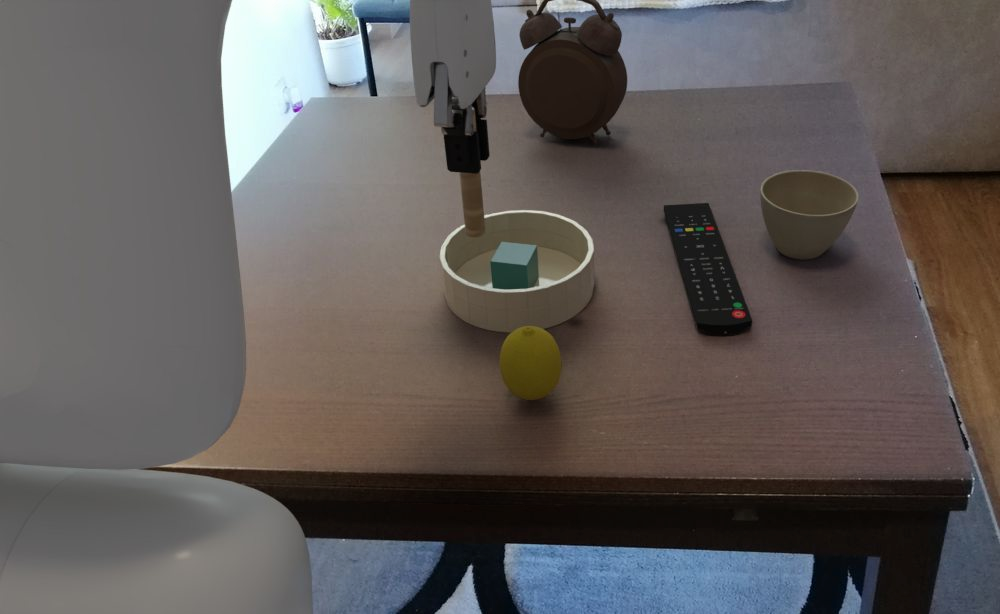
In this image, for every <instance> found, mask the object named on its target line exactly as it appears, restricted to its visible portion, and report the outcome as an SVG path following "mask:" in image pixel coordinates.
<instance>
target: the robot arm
mask: <svg viewBox="0 0 1000 614" xmlns="http://www.w3.org/2000/svg"><path fill="white" fill-rule="evenodd" d="M232 2H233V0H0V614H314V605H313V600H314V599H313V574H312V573H313V572H312V566H311V556H310V551H309V547H308V543H307V539H306V536H305V533H304V531H303V529H302V527H301V525H300V523H299V521H298V519H297V518H296V517H295V515H294V514H293V513H292V512H291V511H290V509H288V508H287V507H286V506H285V505H284V504H283V503H281V502H280V501H278V500H277V499H275V498H274V497H273V496H270V495H268V494H267V493H265V492H263V491H260V490H258V489H255V488H253V487H250V486H247V485H244V484H241V483H238V482H234V481H231V480H227V479H226V480H225V479H222V478H216V477H212V476H207V475H199V474H193V473H192V474H191V473H185V472H175V471H174V472H173V471H164V470H151V469H153V468H156V467H163V466H168V465H174V464H176V463H181V462H183V461H187V460H189V459H192V458H193V457H195V456H197V455H199V454H201V453H203V452H205V451H207V450H208V449H210V448H211V447H213V446H214V445H215V444H216V443H217V442H218V441H219V440H220V438H222V436H223V435H225V434H226V432H227V431H228V430H229V429H230V427H232V424H233V423H234V421H235V418H236V416H237V415H238V412H239V409H240V406H241V402H242V399H243V394H244V390H245V385H246V377H247V376H246V375H247V338H246V337H247V336H246V322H245V321H246V320H245V309H244V299H243V289H242V280H241V271H240V270H241V269H240V260H239V252H238V251H239V250H238V240H237V231H236V223H235V222H236V221H235V212H234V203H233V195H232V186H231V185H232V183H231V176H230V166H229V156H228V148H227V139H226V126H225V112H224V110H225V109H224V97H223V95H224V94H223V81H222V79H223V78H222V75H223V74H222V55H223V45H224V39H225V38H224V37H225V31H226V25H227V21H228V17H229V13H230V10H231V7H232ZM493 13H494V12H493V5H492V0H409V37H410V53H411V65H412V66H411V68H412V77H413V89H414V98H415V102H416V104H417V106H418V107H420V108H426V107H427V106H428V105H430V104H431V102H432V101H433V126H434V127H435V128H440V129H441V134H442V135H443V143H444V151H445V159H446V160H445V161H446V169H447V170H448V171H449V172H450V173H459V172H460V173H475V174H477V173H479V172H480V173H481V170H482V162H485V161H487V160H489V158H490V156H491V155H490V154H491V153H490V144H489V129H488V120H487V119H486V118H487V114H488V109H487V95H486V94H487V93H486V89H487V85H488V84H489V83H490V82H491V80H492V78H493V77H494V75H495V72H496V69H497V47H496V46H497V45H496V33H495V23H494V14H493ZM472 107H473V108H474V109H475V118H476V129H477V132H474V122H473V111H472ZM453 110H463V117H462V115H461V114H460V113H453Z"/></svg>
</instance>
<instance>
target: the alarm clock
mask: <svg viewBox="0 0 1000 614" xmlns="http://www.w3.org/2000/svg"><path fill="white" fill-rule="evenodd" d="M577 1H578V2H583V3H585V4H588V5H591V6H592V7H593V9H594V10H595V11H596V13H597V14H592V15H590V16H588V17H587V18H585V20H584V21H583V22H582V23H581V25H580V26H572V24H576V22H577V18H575V17H568V16H566V17H564V18H563V23H565V24H567V25H568V27H564V28H563V25H562V24H561V22H560V21H559V20H558V18H556V16H554V15H553V14H551V13H549V12H543V11H544V10H545V8H546V7H547V5H548V3H549V2H554V0H542V2H541V3H540V6H539V7H538V9H537V11H536V13H535V14H534V12H533V10H531V9H527V10H526V14H525V15H526V17H527V18H526V19H525V20H524V23H523V24H522V25H521V27H520V29H519V40H520V43H521V47H522V48H523V50H524V51H525V50H528V49H530V48H532V47H533V48H532V49H531V50H530V51H529V53H527V55H526V57H524V59H523V61H522V64H521V66H520V68H519V73H518V80H517V81H518V82H517V83H518V84H517V85H518V86H517V87H518V93H519V97H520V101H521V104H522V106H523V108H524V110H525V111H526V113H527V114H528V116H529V117H530V119H531V120H532V121H533V122H534V123H535V125H537V126H538V127H539V128H541V129H542V132H541V133H540V135H539V136H540V138H545V134H546V133H549V134H551V135H552V136H555V137H557V138H561V139H567V140H578V139H583V138H588V137H590V139H591V140H592V144H593V145H596V146H597V145H598V142H599V141H598V140H597V139H596V135H595V134H596V133H598V131H600V130H601V129H603V131H605V135H606V136H610V135H612V133H611V130H609V128H608V123H610V121H611V120H613V118H614V117H615V115H616V114H617V112H618V110H619V109H620V107H621V105H622V103H623V101H624V99H625V97H626V93H627V89H628V72H627V67H626V64H625V61H624V59H623V57H622V55H621V52H620V51H619V49H620V47H621V43H622V37H623V33H622V30H621V27H620V26H619V24H618V23H617V21H615V20H614V17H615V15H614V13H613V12H608V14H607V15H606V13H605V11H604V9H603V7H602V6H601V4H600V2H599V1H598V0H577Z"/></svg>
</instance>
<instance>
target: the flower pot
mask: <svg viewBox="0 0 1000 614" xmlns="http://www.w3.org/2000/svg"><path fill="white" fill-rule="evenodd" d="M759 189H760V190H759V197H760V208H761V213H762V217H763V222H764V225H765V228H766V231H767V234H768V235H769V238H770V240H771V241H772V243H773V245H774V246H775V248H776V250H777V251H778V252H779V253H780V254H781V255H783V256H785V257H787V258H791V259H795V260H802V261H803V260H804V261H805V260H813V259H815V258H818V257H820V256H821V255H822V254H824V253H825V252H826V251H827V250H828V249H829V248H830V247H831V246H832V245H833V244H834V243H835V242H836V241H837V240H838V238H839V237H840V236H841V235H842V233H843V232H844V230H845V228H847V226H848V224H849V222H850V221H851V218H852V217H853V215H854V212H855V210H856V207H857V205H858V202H859V198H860V196H859V195H860V194H859V192H858V190H857V189H856V187H855V186H854V185H853V184H852V183H850V182H849V181H848V180H846V179H844V178H842V177H840V176H837V175H835V174H831V173H828V172H824V171H817V170H811V169H791V170H786V171H785V170H784V171H780V172H777V173H774V174H771V175H770V176H768V177H767V178H765V180H764V181H762V183H761V184H760V188H759Z"/></svg>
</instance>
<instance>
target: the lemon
mask: <svg viewBox="0 0 1000 614" xmlns="http://www.w3.org/2000/svg"><path fill="white" fill-rule="evenodd" d="M498 366H499V371H500V376H501V379H502V382H503V384H504V385H505V387H506V388H507V390H508V391H510V393H511V394H512V395H514V396H515V397H518V398H519V399H523V400H526V401H536V400H537V401H538V400H540V399H543V398H544V397H546V396H548V395H549V394H550V393H552V392H553V391H554V390H555V388H556V387H557V385H558V384H559V381H560V379H561V374H562V366H563V365H562V356H561V352H560V348H559V345H558V344H557V342H556V340H555V338H554V336H552V334H551V333H550V332H548V331H547V330H545V329H542V328H539V327H536V326H524V327H521V328H518V329H516V330H514V331H513V332H512V333H509V334H508V335H507V337H506V338H505V339H504V341H503V342H502V346H501V348H500V354H499V365H498Z"/></svg>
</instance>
